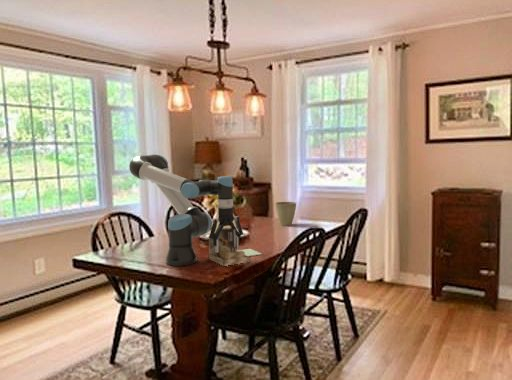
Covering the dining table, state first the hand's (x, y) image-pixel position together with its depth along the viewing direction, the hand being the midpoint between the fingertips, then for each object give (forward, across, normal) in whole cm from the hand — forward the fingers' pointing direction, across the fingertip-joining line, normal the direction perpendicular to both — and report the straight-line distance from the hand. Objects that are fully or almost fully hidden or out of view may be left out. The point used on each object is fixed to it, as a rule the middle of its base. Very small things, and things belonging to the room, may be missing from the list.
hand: (226, 250), depth 223 cm
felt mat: (+5, +14, +6) cm, 16 cm away
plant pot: (+5, +77, +62) cm, 99 cm away
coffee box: (+5, 0, 0) cm, 5 cm away
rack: (+5, 0, -2) cm, 5 cm away
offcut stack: (+5, 0, -8) cm, 9 cm away
